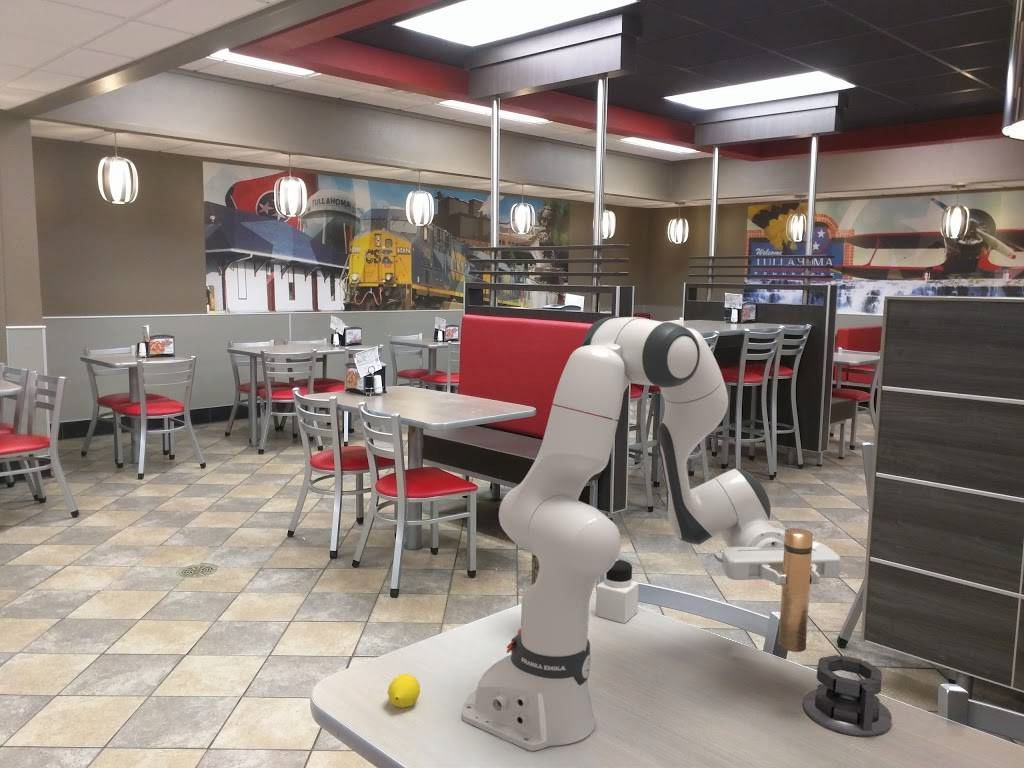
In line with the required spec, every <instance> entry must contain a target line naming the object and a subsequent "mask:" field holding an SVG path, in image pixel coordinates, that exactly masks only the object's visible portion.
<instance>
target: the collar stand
mask: <svg viewBox="0 0 1024 768" xmlns="http://www.w3.org/2000/svg"><path fill="white" fill-rule="evenodd" d="M816 668H817V669H816V679H817V681H818V682H820V683H821V684H820V683H819V684H818V685H817V686H816V688H814V689H811V690H809V691H807V692H806V693H805V695H804V696H803V701H802V703H803V704H802V708H803V710H804V712H805V714H806V715H807V716H808V718H809V719H811V720H812V721H813V722H815V723H816V724H818V725H820V726H821V727H822V728H823V727H824V728H825V729H827V730H830V731H833V732H835V733H838V734H842V735H847V736H852V737H857V738H858V737H859V738H865V737H866V738H868V737H872V738H873V737H876V736H877V737H879V736H881V735H883V734H886V733H887V732H888V731H889V730H890V728H892V713H891V712H890V709H888V707H886V706H885V705H884V704H883V703H882V702H880V700H881V699H880V698H879V697H878V696H877V695H878V694H880V693H881V692H882V679H883V678H882V677H883V676H882V674H883V672H882V671H881V669H879V668H878V667H876V666H875V665H873V664H871V663H870V662H868V661H867V660H863V659H861V658H855V657H851V656H846V655H842V654H840V655H838V654H835V655H830V656H823V657H820V658H819V659H818V664H817V667H816ZM838 671H839V672H840V671H843V672H848V673H853V674H857V675H859V676H861V677H863V678H864V679H859V680H857V679H852V678H846V677H842V676H839V675H837V674H836V673H835V672H838Z"/></svg>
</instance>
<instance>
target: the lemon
mask: <svg viewBox="0 0 1024 768" xmlns="http://www.w3.org/2000/svg"><path fill="white" fill-rule="evenodd" d="M388 685H389V686H388V689H387V694H388V699H389V701H390V702H391V704H392V705H393V706H395V707H398V708H403V709H404V708H408V707H411V706H412V705H414V704H415V703H416V702H417V701H418V698H419V696H420V693H421V687H420V686H421V685H420V683H419V681H418V679H417V678H416V676H413V675H411V674H409V673H401V674H399V675H398V676H396V677H394V678H393V680H392V681H391V682H390V684H388Z"/></svg>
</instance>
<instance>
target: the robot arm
mask: <svg viewBox="0 0 1024 768" xmlns="http://www.w3.org/2000/svg"><path fill="white" fill-rule="evenodd" d="M722 374H723V373H722V371H721V369H720V367H719V364H718V362H717V360H716V358H715V356H714V354H713V351H712V350H711V348H710V346H709V344H708V342H707V341H706V339H705V337H703V335H702V334H701V333H700V332H699V331H697V330H696V329H694V328H691V327H684V326H683V325H680V324H678V323H675V322H668V321H667V322H665V321H664V322H663V321H659V320H654V319H648V318H646V317H639V316H633V317H632V316H627V317H626V316H624V317H623V316H622V317H621V316H608V317H603V318H600V319H598V320H596V321H595V322H594V323H592V324H591V326H590V327H589V328H588V330H587V331H586V333H585V334H584V338H583V340H582V344H581V346H580V347H578V348H576V349H575V350H573V352H572V353H571V354H570V355H569V358H568V360H567V362H566V364H565V366H564V369H563V371H562V373H561V376H560V379H559V380H558V381H559V382H558V384H557V387H556V390H555V393H554V397H553V400H552V404H551V409H550V413H549V417H548V420H547V424H546V427H545V432H544V435H543V438H542V442H541V445H540V448H539V450H538V453H537V455H536V458H535V460H534V461H533V464H532V465H531V467H530V469H529V470H528V472H527V474H526V475H525V477H524V478H523V480H522V481H521V482H520V483H519V484H518V485H517V486H514V487H513V488H512V489H510V490H509V491H507V493H506V494H505V496H504V497H503V499H502V501H501V502H500V506H499V510H498V520H499V524H500V527H501V528H502V530H503V531H504V533H505V534H506V536H508V537H509V539H510V540H512V542H514V544H515V545H517V546H518V547H520V548H522V549H523V550H525V551H526V552H528V553H530V554H534V555H536V556H537V558H538V561H539V572H538V576H537V580H536V582H535V583H534V584H532V583H531V585H530V586H528V587H527V588H526V589H525V590H524V592H523V594H522V597H521V616H520V617H521V618H520V619H521V620H520V622H521V623H520V629H519V630H518V631H517V635H515V636H513V638H511V640H510V641H511V642H510V643H508V645H506V654H508V655H506V657H503V658H501V659H500V660H498V661H496V662H495V663H494V664H493V665H491V666H490V667H489V668H488V669H487V670H486V671H485V672H484V674H483V675H482V676H481V678H480V679H479V682H478V684H477V689H476V690H474V691H473V693H472V694H471V695H469V697H468V698H467V699H466V700H465V702H464V703H463V706H462V711H461V718H462V719H461V720H463V721H464V722H465V723H468V724H470V725H472V726H474V727H477V728H479V729H480V730H483V731H484V732H485V731H486V732H488V733H489V734H493V735H494V736H495V737H499V738H501V739H503V740H506V741H507V742H509V743H512V744H514V745H516V746H518V747H520V748H523V749H525V750H528V751H532V752H533V751H539V750H542V749H545V748H548V747H552V746H564V745H570V744H573V743H576V742H577V743H578V742H579V741H582V740H583V739H585V738H587V737H588V736H589V735H591V734H592V733H593V731H594V730H595V726H596V718H595V715H594V712H593V707H592V702H591V701H592V700H591V696H590V687H589V677H590V671H591V662H592V661H591V657H592V656H591V644H590V643H591V642H590V640H589V637H588V636H589V635H588V634H589V615H590V613H589V612H590V602H591V596H592V594H593V590H594V587H595V585H596V583H597V581H598V579H599V578H600V577H602V576H603V575H604V574H605V573H606V572H608V571H609V570H610V569H611V568H612V566H613V565H614V564H615V562H616V560H618V558H619V555H620V552H621V548H622V547H621V546H622V539H621V533H620V530H619V528H618V527H617V525H616V524H615V523H614V522H613V521H612V520H611V519H610V518H609V517H608V516H607V515H606V514H604V513H603V512H602V511H600V510H599V509H598V508H596V507H594V506H593V505H590V504H587V503H586V502H583V501H579V500H580V499H579V498H580V496H581V493H582V491H583V489H584V488H585V486H586V484H587V483H588V482H589V480H590V479H591V478H592V477H593V476H594V475H597V474H600V473H601V472H602V471H604V469H606V467H607V465H608V464H609V460H610V457H611V456H610V455H611V452H612V449H613V444H614V439H615V436H616V432H617V428H618V423H619V420H620V416H621V411H622V405H623V401H624V400H623V399H624V393H625V391H626V390H627V388H628V386H629V385H630V384H637V385H642V386H656V387H659V389H660V392H661V395H662V398H663V402H664V414H663V419H662V421H661V423H660V424H659V426H658V428H657V429H656V440H657V448H658V449H657V450H658V454H659V455H658V456H659V461H660V467H661V472H662V479H663V482H664V489H665V494H666V508H667V515H668V521H669V525H670V527H671V529H672V530H673V533H674V534H675V536H676V537H678V539H679V540H680V541H682V542H686V543H689V544H693V545H698V546H699V545H702V544H703V543H705V542H706V541H708V540H710V539H711V538H713V536H715V535H717V534H719V535H720V536H721V537H722V539H723V541H724V544H725V545H727V546H726V547H724V548H723V549H721V550H719V552H715V553H714V554H713V557H714V559H715V560H716V561H717V562H718V563H721V568H722V571H723V572H724V574H725V576H726V577H727V578H728V579H731V580H734V581H745V580H746V581H750V580H754V581H755V580H765V581H768V582H772V583H774V584H775V585H776V586H780V585H781V586H782V585H785V584H786V581H785V580H786V575H785V574H783V557H784V539H785V530H786V529H783V528H779V527H775V526H773V525H771V524H770V523H769V520H770V518H771V517H770V516H771V503H770V499H769V497H768V493H767V492H766V490H765V488H764V487H763V485H762V484H761V483H760V481H759V480H758V479H757V478H756V477H755V476H754V475H753V474H751V473H750V472H747V471H745V470H744V469H742V468H738V467H737V468H736V467H735V468H733V469H731V470H728V471H726V472H724V473H721V474H720V475H718V476H715V477H714V478H712V479H709V480H708V481H705V482H704V483H702V484H698V485H697V486H695V487H694V488H693V487H692V488H691V487H690V486H691V485H690V482H689V475H688V469H687V462H688V459H689V458H690V456H691V454H692V452H693V451H694V449H695V448H696V447H697V446H698V445H699V444H700V443H701V442H702V441H703V440H705V439H706V437H707V436H709V435H710V434H711V433H712V432H713V431H714V430H715V429H717V427H718V426H719V425H720V423H721V422H722V421H723V419H724V417H725V415H726V413H727V411H728V407H729V394H728V391H727V387H726V383H725V380H724V378H723V377H724V376H723V375H722ZM841 570H842V558H841V557H840V555H839V554H838V553H836V551H834V550H833V549H832V548H830V547H829V546H827V545H825V544H824V543H821V542H820V541H816V537H815V536H814V535H813V542H812V559H811V575H810V585H819V584H820V583H821V582H820V579H831V578H833V579H834V578H835V579H836V578H838V577H840V575H841V572H842V571H841ZM509 653H511V654H509Z"/></svg>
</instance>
